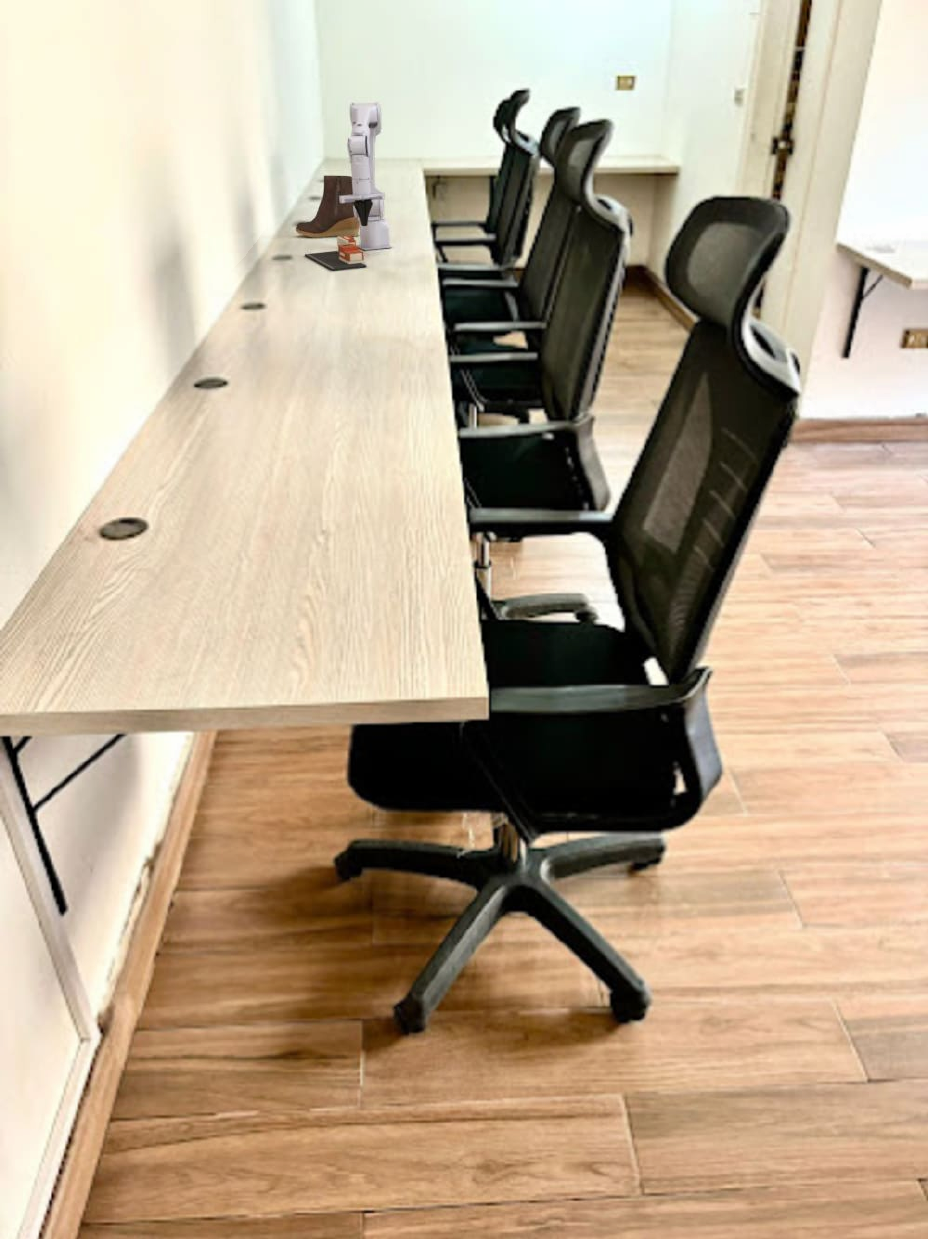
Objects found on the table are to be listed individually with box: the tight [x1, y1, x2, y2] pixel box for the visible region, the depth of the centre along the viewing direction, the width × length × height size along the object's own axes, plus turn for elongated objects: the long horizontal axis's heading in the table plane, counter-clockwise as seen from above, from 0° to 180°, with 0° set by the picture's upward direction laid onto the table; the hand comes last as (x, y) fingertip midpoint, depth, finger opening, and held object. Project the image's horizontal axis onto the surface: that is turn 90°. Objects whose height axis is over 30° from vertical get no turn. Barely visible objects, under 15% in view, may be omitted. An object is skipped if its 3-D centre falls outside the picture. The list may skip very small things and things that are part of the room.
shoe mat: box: [304, 250, 367, 272], centre depth 301 cm, size 11×28×1 cm, turn 25°
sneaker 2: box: [337, 244, 365, 264], centre depth 298 cm, size 4×10×5 cm
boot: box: [295, 174, 360, 239], centre depth 337 cm, size 9×24×20 cm, turn 84°
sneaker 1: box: [336, 236, 357, 252], centre depth 310 cm, size 4×10×5 cm, turn 25°
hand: (364, 225), depth 302 cm, fingers closed
